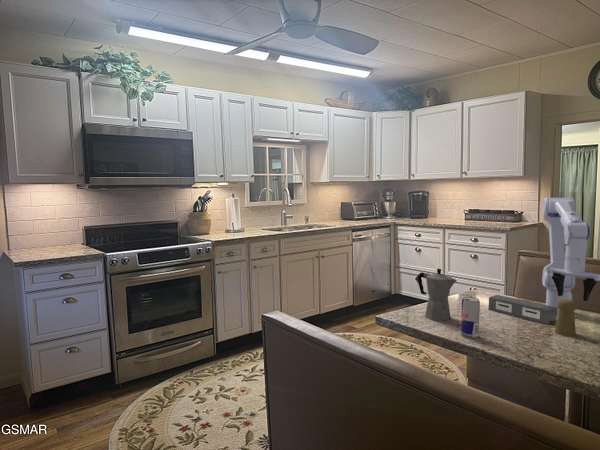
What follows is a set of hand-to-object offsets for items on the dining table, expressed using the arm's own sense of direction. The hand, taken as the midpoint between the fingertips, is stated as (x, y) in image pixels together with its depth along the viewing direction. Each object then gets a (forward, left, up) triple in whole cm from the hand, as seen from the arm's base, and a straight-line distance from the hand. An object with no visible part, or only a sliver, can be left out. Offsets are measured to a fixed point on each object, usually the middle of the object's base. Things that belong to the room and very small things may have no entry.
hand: (572, 298), depth 141 cm
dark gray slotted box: (0, -17, -10) cm, 20 cm away
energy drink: (+35, -16, -10) cm, 40 cm away
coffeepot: (+27, -35, -10) cm, 45 cm away
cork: (+8, +1, -10) cm, 13 cm away
